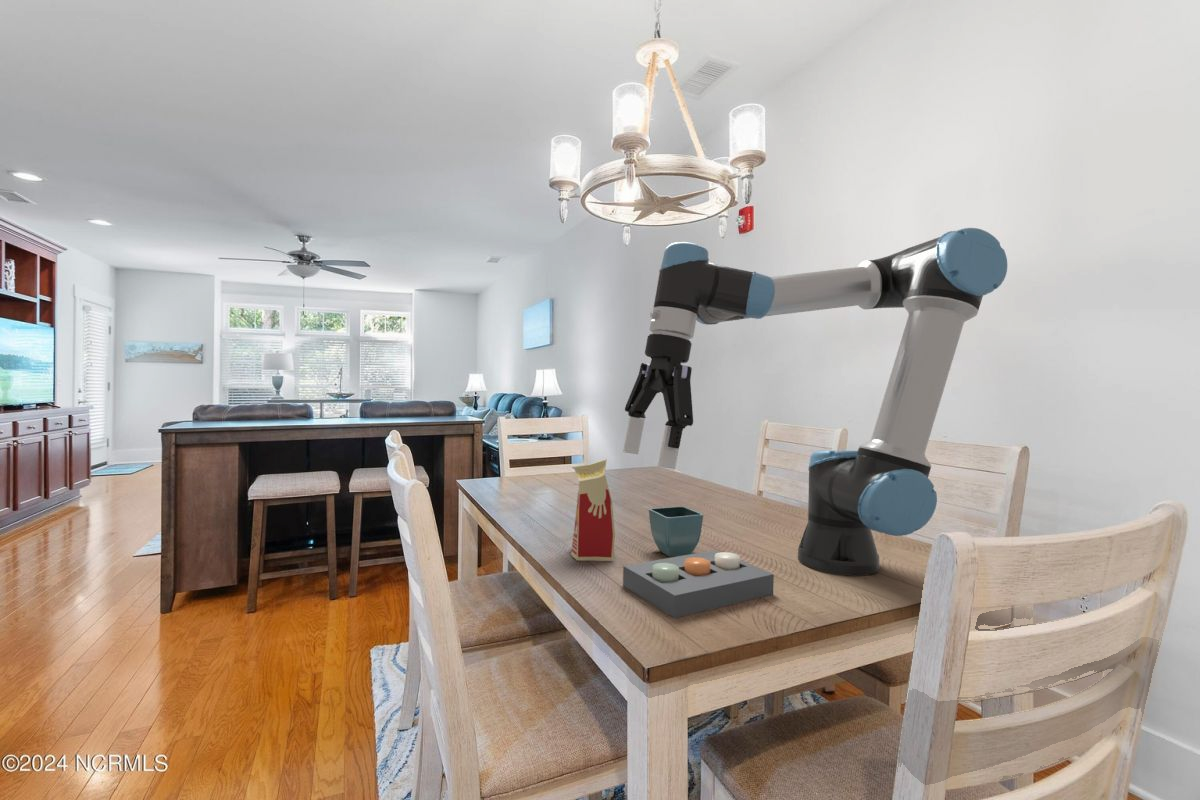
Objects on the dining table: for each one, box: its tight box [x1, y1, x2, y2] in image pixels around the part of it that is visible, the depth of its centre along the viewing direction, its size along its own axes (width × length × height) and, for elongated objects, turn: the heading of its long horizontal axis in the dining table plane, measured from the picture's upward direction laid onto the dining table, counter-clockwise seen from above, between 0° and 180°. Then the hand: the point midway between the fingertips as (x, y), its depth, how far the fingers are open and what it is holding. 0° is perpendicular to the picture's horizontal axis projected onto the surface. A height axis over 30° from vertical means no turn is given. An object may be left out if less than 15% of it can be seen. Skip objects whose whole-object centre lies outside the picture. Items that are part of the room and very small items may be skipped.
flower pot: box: [648, 505, 704, 558], centre depth 114 cm, size 9×9×9 cm
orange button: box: [685, 557, 710, 577], centre depth 94 cm, size 4×4×3 cm
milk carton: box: [570, 458, 616, 562], centre depth 113 cm, size 9×9×20 cm
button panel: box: [622, 549, 775, 619], centre depth 94 cm, size 21×15×4 cm
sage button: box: [652, 563, 679, 583], centre depth 91 cm, size 4×4×3 cm
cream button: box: [715, 551, 741, 571], centre depth 97 cm, size 4×4×3 cm
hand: (647, 460), depth 92 cm, fingers open, 13 cm apart
